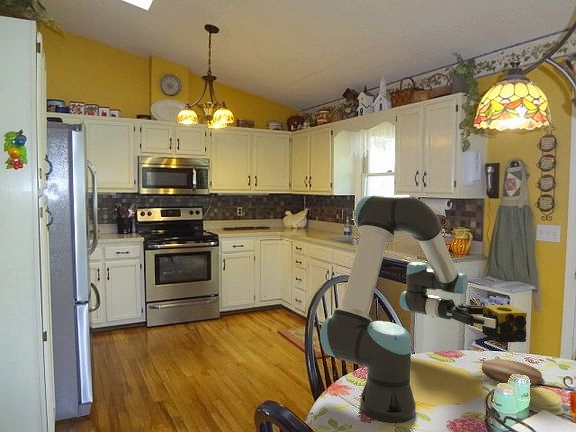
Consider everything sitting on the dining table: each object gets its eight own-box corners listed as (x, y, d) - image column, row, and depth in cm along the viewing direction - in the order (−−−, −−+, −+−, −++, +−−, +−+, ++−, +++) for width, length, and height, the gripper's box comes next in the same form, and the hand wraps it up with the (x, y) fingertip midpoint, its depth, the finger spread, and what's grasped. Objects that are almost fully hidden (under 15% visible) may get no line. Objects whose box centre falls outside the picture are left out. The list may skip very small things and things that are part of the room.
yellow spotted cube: (508, 332, 150) (509, 304, 149) (527, 342, 140) (528, 312, 139) (480, 333, 149) (482, 304, 148) (497, 343, 139) (499, 313, 138)
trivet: (533, 391, 132) (533, 386, 132) (473, 373, 145) (473, 369, 144) (548, 374, 145) (548, 369, 145) (492, 359, 158) (492, 355, 157)
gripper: (453, 311, 168) (512, 322, 154) (425, 324, 150) (489, 339, 136) (454, 292, 168) (513, 302, 154) (426, 303, 150) (490, 316, 135)
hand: (502, 319), depth 145 cm, fingers closed on yellow spotted cube, 13 cm apart
